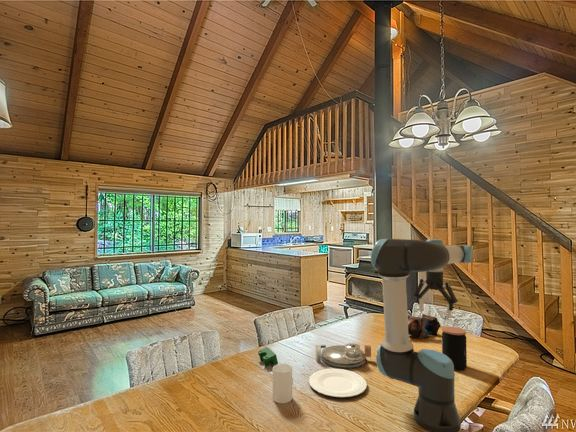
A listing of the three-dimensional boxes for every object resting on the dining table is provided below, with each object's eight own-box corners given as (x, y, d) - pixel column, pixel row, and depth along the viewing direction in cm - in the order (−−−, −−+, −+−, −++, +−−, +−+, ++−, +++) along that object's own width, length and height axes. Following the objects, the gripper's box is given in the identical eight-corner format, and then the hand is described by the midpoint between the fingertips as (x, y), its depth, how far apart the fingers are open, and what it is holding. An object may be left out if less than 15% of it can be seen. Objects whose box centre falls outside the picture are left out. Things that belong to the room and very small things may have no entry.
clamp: (262, 369, 164) (256, 351, 166) (272, 364, 166) (266, 346, 169) (268, 369, 154) (261, 350, 156) (279, 364, 156) (272, 345, 159)
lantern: (429, 342, 207) (402, 347, 195) (416, 318, 217) (389, 322, 205) (447, 331, 197) (419, 335, 185) (432, 307, 206) (405, 310, 195)
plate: (321, 405, 124) (321, 400, 124) (301, 376, 148) (301, 371, 148) (378, 396, 130) (378, 391, 130) (350, 369, 155) (350, 365, 155)
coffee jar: (470, 372, 151) (469, 334, 151) (445, 370, 153) (445, 332, 154) (462, 362, 161) (462, 327, 162) (439, 361, 164) (439, 325, 164)
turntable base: (345, 374, 148) (345, 357, 149) (309, 359, 165) (309, 343, 166) (374, 359, 165) (374, 344, 165) (339, 347, 182) (339, 333, 182)
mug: (284, 386, 138) (284, 358, 138) (296, 400, 127) (296, 370, 127) (266, 390, 134) (266, 361, 135) (276, 405, 123) (276, 373, 124)
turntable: (321, 363, 156) (321, 352, 157) (322, 346, 178) (322, 336, 178) (373, 366, 153) (373, 354, 153) (368, 349, 175) (368, 338, 175)
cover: (354, 362, 155) (354, 351, 155) (339, 356, 162) (339, 345, 162) (366, 357, 161) (366, 345, 161) (350, 351, 168) (350, 340, 168)
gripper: (464, 272, 150) (465, 318, 149) (414, 267, 169) (414, 307, 168) (458, 274, 145) (458, 321, 145) (406, 268, 164) (407, 310, 163)
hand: (434, 314), depth 156 cm, fingers open, 13 cm apart
